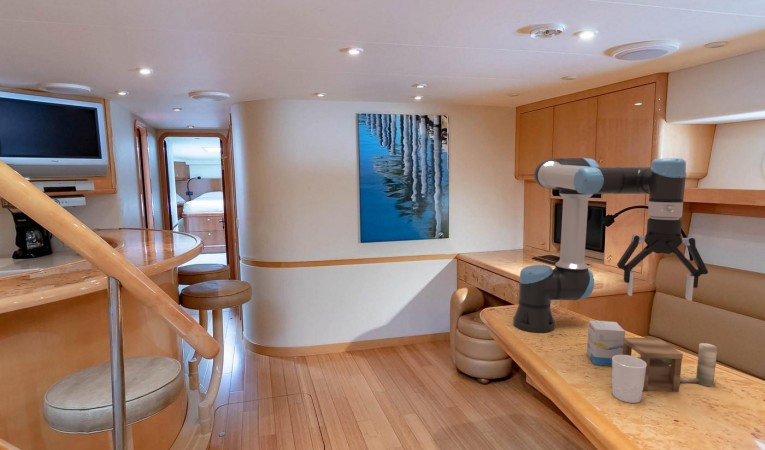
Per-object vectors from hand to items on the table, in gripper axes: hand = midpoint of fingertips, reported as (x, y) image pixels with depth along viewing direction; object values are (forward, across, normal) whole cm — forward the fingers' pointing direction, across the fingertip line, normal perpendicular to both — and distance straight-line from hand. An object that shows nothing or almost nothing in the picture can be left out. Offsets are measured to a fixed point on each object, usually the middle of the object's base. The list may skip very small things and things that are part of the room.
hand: (658, 297), depth 114 cm
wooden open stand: (+26, 0, +5) cm, 27 cm away
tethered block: (+26, +8, +8) cm, 28 cm away
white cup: (+26, -7, -6) cm, 28 cm away
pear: (+26, +7, +24) cm, 36 cm away
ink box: (+26, -10, +17) cm, 33 cm away
